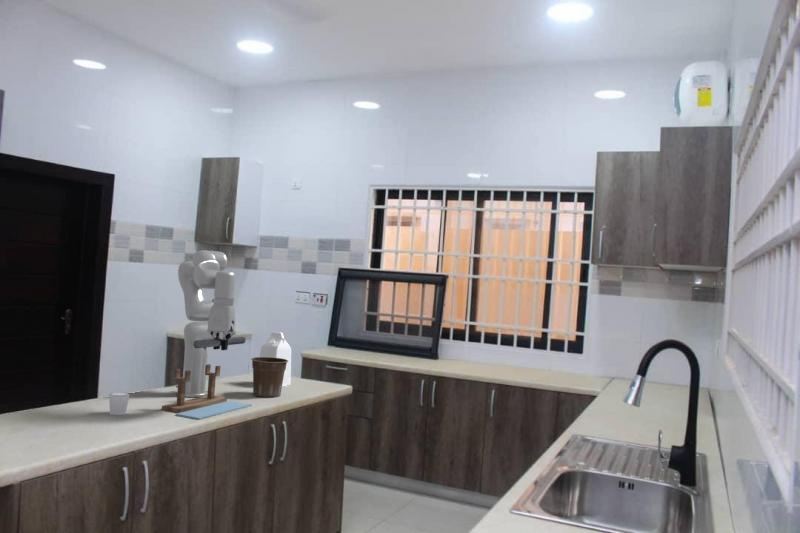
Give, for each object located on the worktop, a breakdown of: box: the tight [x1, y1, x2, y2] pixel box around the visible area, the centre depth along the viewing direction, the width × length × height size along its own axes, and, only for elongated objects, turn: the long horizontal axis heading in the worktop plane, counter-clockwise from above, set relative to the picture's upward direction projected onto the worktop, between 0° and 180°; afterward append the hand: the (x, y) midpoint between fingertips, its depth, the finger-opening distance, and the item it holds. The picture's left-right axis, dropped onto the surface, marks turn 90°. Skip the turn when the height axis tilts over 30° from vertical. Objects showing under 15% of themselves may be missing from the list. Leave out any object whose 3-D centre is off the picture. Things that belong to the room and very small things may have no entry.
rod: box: [193, 335, 247, 349], centre depth 248 cm, size 28×3×3 cm, turn 158°
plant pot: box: [251, 356, 288, 398], centre depth 285 cm, size 16×16×16 cm
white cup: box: [108, 392, 130, 416], centre depth 233 cm, size 7×7×7 cm
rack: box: [161, 363, 228, 413], centre depth 254 cm, size 9×28×15 cm, turn 158°
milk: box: [259, 331, 292, 387], centre depth 311 cm, size 12×12×26 cm
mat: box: [175, 400, 253, 420], centre depth 248 cm, size 11×32×1 cm, turn 158°
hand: (220, 349), depth 248 cm, fingers closed on rod, 3 cm apart
